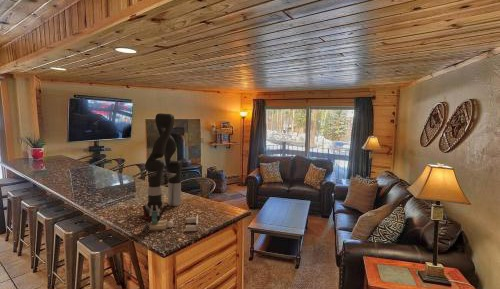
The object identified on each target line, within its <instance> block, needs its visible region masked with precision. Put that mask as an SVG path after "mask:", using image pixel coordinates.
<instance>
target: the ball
mask: <svg viewBox="0 0 500 289" xmlns="http://www.w3.org/2000/svg"><path fill="white" fill-rule="evenodd" d="M174 224H175V223H174V221H173V220H169V221H168V220H167V226H166V227H168V228H172V227H174V226H175V225H174Z"/></svg>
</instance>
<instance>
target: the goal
mask: <svg viewBox="0 0 500 289" xmlns="http://www.w3.org/2000/svg"><path fill="white" fill-rule="evenodd" d="M193 223H194V224H195V223H196V224H195V225H194V224H193ZM186 224H191V225H185V232H194V231H195V232H197V231H199V214H197V215H196V217H186ZM192 224H193V225H192Z"/></svg>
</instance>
